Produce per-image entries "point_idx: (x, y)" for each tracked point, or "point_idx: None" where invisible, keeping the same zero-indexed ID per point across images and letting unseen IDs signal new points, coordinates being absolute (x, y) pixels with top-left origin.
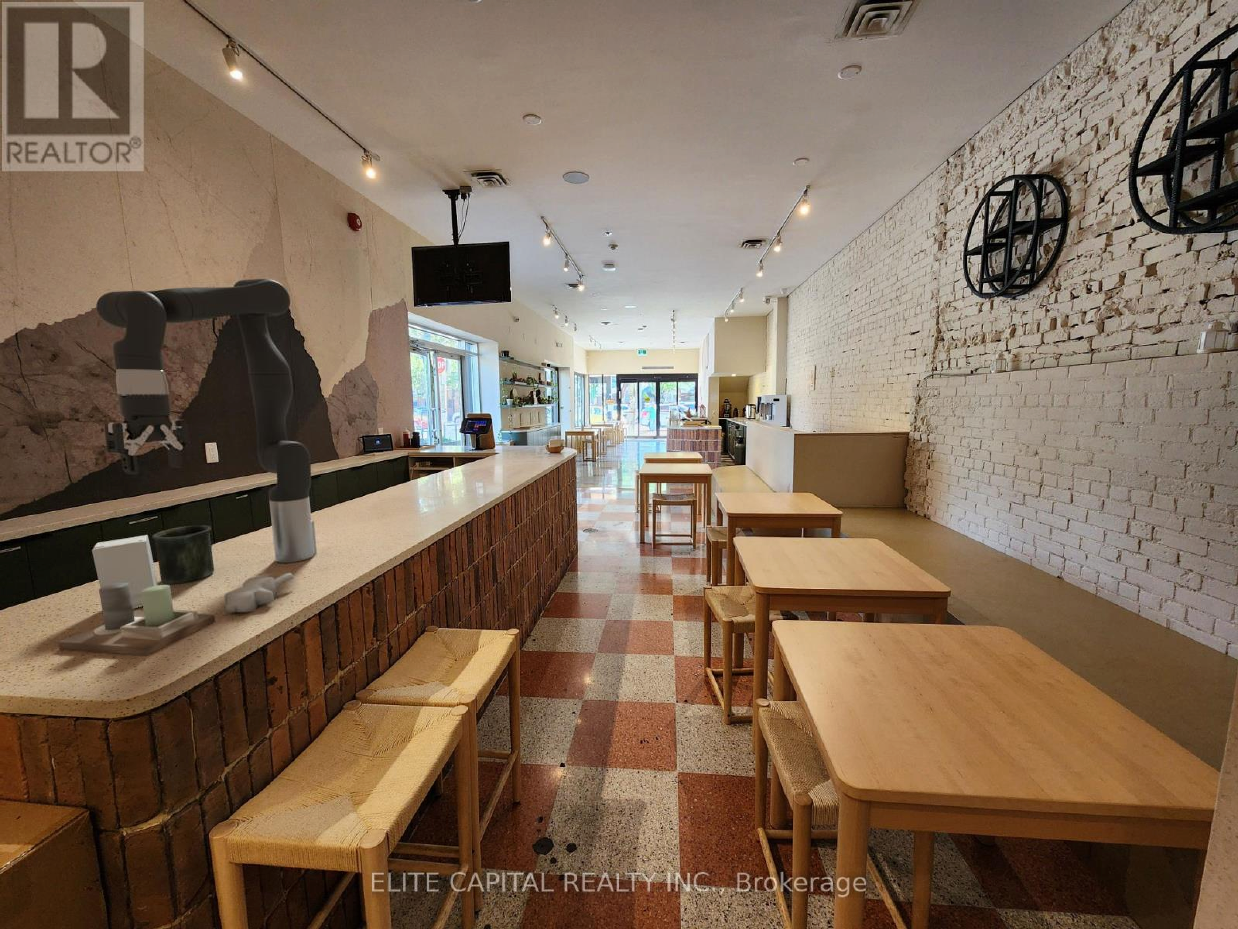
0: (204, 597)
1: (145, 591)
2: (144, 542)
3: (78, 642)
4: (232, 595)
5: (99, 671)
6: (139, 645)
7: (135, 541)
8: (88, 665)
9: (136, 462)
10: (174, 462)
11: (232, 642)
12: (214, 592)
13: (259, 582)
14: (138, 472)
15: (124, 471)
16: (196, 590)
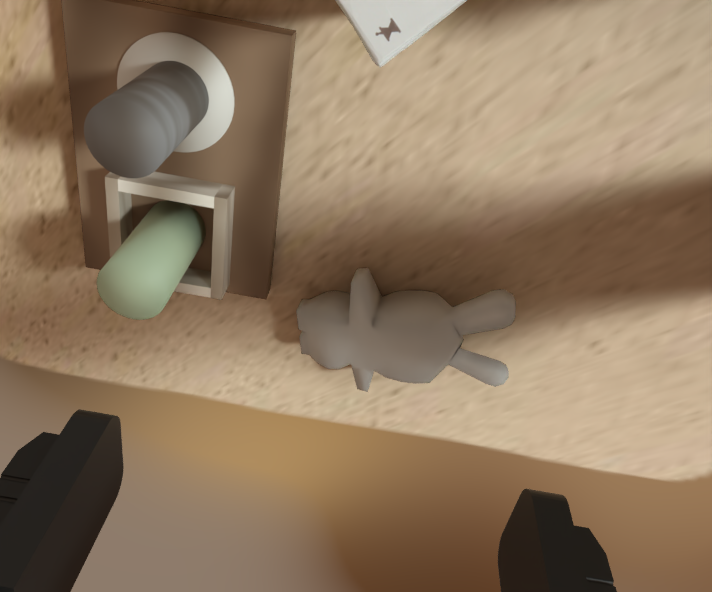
0: (454, 134)
1: (109, 277)
2: (375, 62)
3: (70, 66)
4: (324, 325)
5: (20, 211)
6: (92, 244)
7: (370, 15)
8: (31, 162)
9: (63, 584)
10: (511, 576)
11: (176, 381)
12: (500, 136)
13: (391, 366)
14: (119, 488)
15: (44, 433)
16: (535, 49)
